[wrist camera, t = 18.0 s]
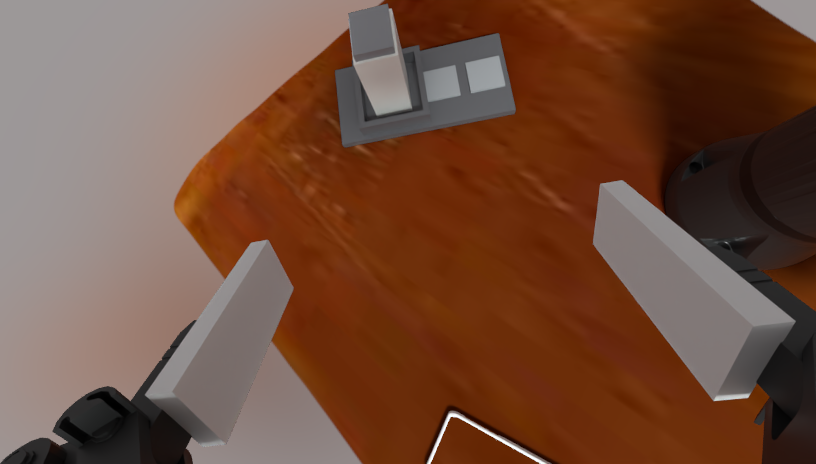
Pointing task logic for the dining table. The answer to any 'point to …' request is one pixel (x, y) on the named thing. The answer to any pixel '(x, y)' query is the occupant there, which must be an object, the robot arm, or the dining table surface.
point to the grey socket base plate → (431, 92)
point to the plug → (380, 60)
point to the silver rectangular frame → (500, 438)
